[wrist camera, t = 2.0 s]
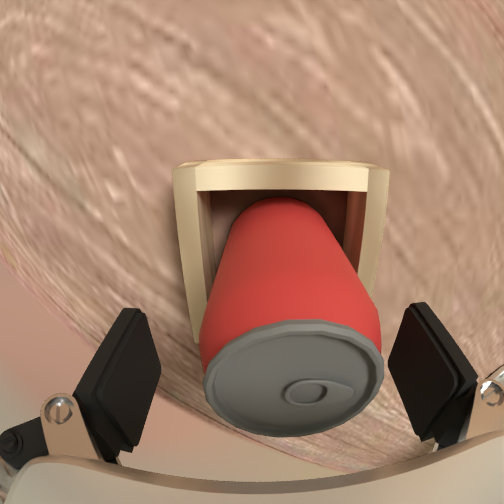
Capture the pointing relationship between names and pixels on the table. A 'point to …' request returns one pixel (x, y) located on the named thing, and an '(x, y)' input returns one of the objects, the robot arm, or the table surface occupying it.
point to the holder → (274, 177)
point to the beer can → (288, 326)
